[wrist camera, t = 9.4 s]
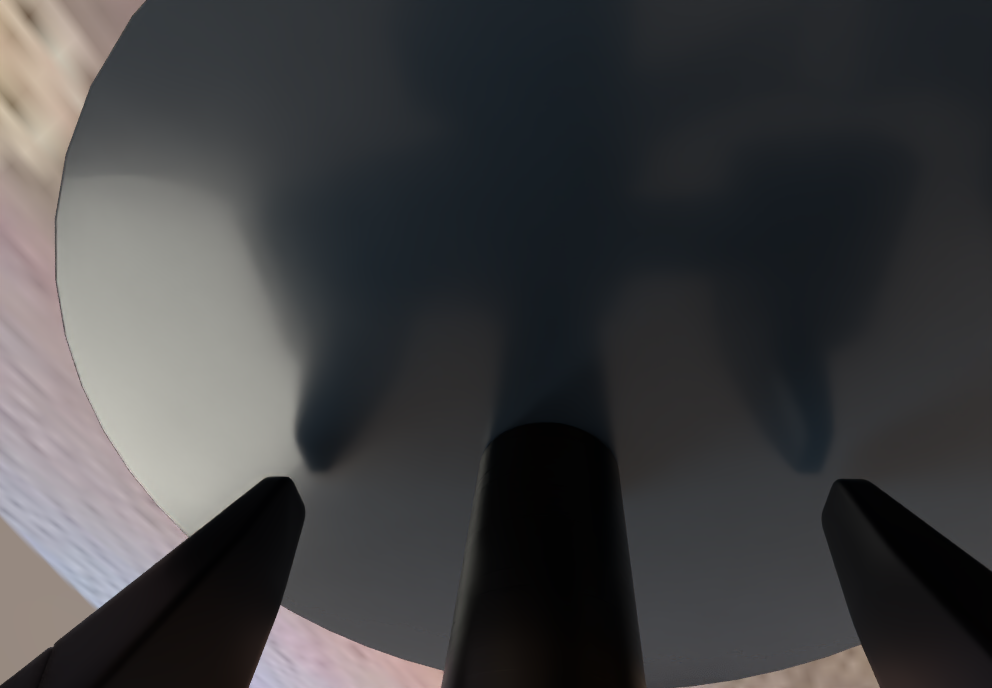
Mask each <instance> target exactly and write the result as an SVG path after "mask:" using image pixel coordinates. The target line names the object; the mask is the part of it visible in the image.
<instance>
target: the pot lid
mask: <svg viewBox="0 0 992 688" xmlns="http://www.w3.org/2000/svg"><path fill="white" fill-rule="evenodd" d="M55 280H56V286H57V292H58V297H59V303H60V309H61V315H62V321H63V327H64V332H65V337H66V340H67V343H68V346H69V349H70V352H71V355H72V358H73V361H74V364H75V367H76V370H77V373H78V376H79V379H80V382H81V385H82V388H83V390H84V392H85V394H86V396H87V398H88V400H89V402H90V404H91V406H92V408H93V410H94V412H95V414H96V416H97V419H98V421H99V423H100V425H101V427H102V429H103V431H104V432H105V434H106V435H107V437H108V439H109V440H110V442H111V443H112V445H113V446H114V448H115V449H116V451H117V453H118V454H119V456H120V457H121V459H122V460H123V462H124V463H125V465H126V467H127V468H128V470H129V471H130V472H131V474H132V475H133V476H134V477H135V478H136V480H137V481H138V482H139V483H140V485H141V486H142V487H143V488H144V490H145V491H146V492H147V493H148V495H149V496H150V497H151V498H152V499H153V501H154V502H155V503H156V504H157V506H158V507H159V508H160V509H161V510H162V511H163V512H164V513H165V514H166V515H167V516H168V517H169V518H170V519H171V520H172V521H173V522H174V523H175V524H176V525H177V526H178V527H179V528H180V529H181V530H182V531H183V532H184V533H185V534H186V535H187V536H188V537H190V536H191V535H193V534H194V533H195V532H196V531H198V530H199V529H200V528H202V527H203V526H204V525H205V524H207V523H208V522H209V521H210V520H212V519H213V518H214V517H216V516H217V515H218V514H219V513H221V512H222V511H223V510H224V509H226V508H227V507H228V506H229V505H231V504H232V503H233V502H235V501H236V500H237V499H238V498H240V497H241V496H242V495H243V494H245V493H246V492H247V491H248V490H250V489H251V488H252V487H254V486H255V485H256V484H257V483H259V482H260V481H261V480H263V479H264V478H266V477H270V476H287V477H289V478H291V479H292V480H293V482H294V484H295V486H296V488H297V490H298V492H299V494H300V497H301V499H302V501H303V503H304V505H305V510H306V515H305V521H304V524H303V528H302V532H301V535H300V539H299V542H298V546H297V550H296V553H295V557H294V560H293V564H292V567H291V571H290V575H289V578H288V582H287V585H286V589H285V592H284V595H283V599H282V602H281V605H282V606H283V607H285V608H287V609H288V610H290V611H292V612H294V613H296V614H298V615H300V616H301V617H303V618H305V619H307V620H309V621H311V622H313V623H315V624H317V625H319V626H321V627H323V628H325V629H327V630H329V631H331V632H334V633H336V634H338V635H341V636H343V637H346V638H348V639H350V640H353V641H355V642H357V643H360V644H362V645H364V646H367V647H370V648H373V649H375V650H378V651H381V652H384V653H387V654H390V655H393V656H395V657H398V658H401V659H404V660H407V661H411V662H414V663H418V664H422V665H425V666H429V667H432V668H436V669H439V670H443V671H444V675H443V681H442V686H441V688H676V687H688V686H697V685H704V684H710V683H717V682H724V681H730V680H737V679H742V678H746V677H751V676H756V675H760V674H765V673H769V672H774V671H779V670H783V669H787V668H790V667H793V666H797V665H800V664H804V663H807V662H811V661H814V660H818V659H821V658H824V657H828V656H831V655H833V654H836V653H839V652H842V651H844V650H847V649H850V648H852V647H855V646H858V645H860V644H861V642H860V640H859V637H858V635H857V632H856V630H855V628H854V625H853V622H852V619H851V616H850V613H849V610H848V607H847V604H846V601H845V597H844V594H843V591H842V588H841V585H840V581H839V578H838V575H837V572H836V569H835V566H834V562H833V559H832V556H831V553H830V550H829V547H828V543H827V540H826V537H825V534H824V531H823V527H822V520H821V517H822V511H823V508H824V506H825V503H826V500H827V497H828V495H829V492H830V489H831V487H832V485H833V483H834V482H835V481H836V480H837V479H865V480H868V481H870V482H871V483H873V484H874V485H876V486H877V487H879V488H880V489H881V490H883V491H884V492H885V493H887V494H888V495H889V496H891V497H892V498H893V499H895V500H896V501H897V502H899V503H900V504H902V505H903V506H904V507H906V508H907V509H908V510H910V511H911V512H912V513H914V514H915V515H916V516H918V517H919V518H920V519H922V520H923V521H925V522H926V523H927V524H929V525H930V526H931V527H933V528H934V529H935V530H937V531H938V532H939V533H941V534H942V535H943V536H945V537H946V538H948V539H949V540H950V541H952V542H953V543H954V544H956V545H957V546H958V547H960V548H961V549H962V550H964V551H965V552H966V553H968V554H969V555H971V556H972V557H973V558H975V559H976V560H977V561H979V562H980V563H981V564H983V565H984V566H985V567H987V568H988V569H989V570H991V571H992V0H146V1H145V2H144V3H143V4H142V5H141V7H140V8H139V9H138V10H137V11H136V12H135V13H134V14H133V16H132V17H131V19H130V21H129V22H128V24H127V26H126V27H125V29H124V31H123V32H122V34H121V36H120V38H119V39H118V41H117V43H116V44H115V46H114V48H113V49H112V51H111V53H110V54H109V56H108V58H107V59H106V61H105V63H104V64H103V66H102V68H101V69H100V71H99V73H98V74H97V76H96V78H95V79H94V81H93V83H92V84H91V86H90V89H89V92H88V95H87V97H86V100H85V103H84V106H83V108H82V111H81V114H80V117H79V119H78V122H77V125H76V128H75V130H74V133H73V136H72V139H71V141H70V144H69V147H68V150H67V152H66V156H65V162H64V168H63V174H62V180H61V186H60V192H59V198H58V204H57V210H56V216H55Z"/></svg>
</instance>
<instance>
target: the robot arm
mask: <svg viewBox="0 0 992 688" xmlns="http://www.w3.org/2000/svg"><path fill="white" fill-rule="evenodd" d="M305 515H306V510H305V505H304V503H303V501H302V499H301V497H300V494H299V492H298V490H297V488H296V486H295V484H294V482H293V480H292V479H291V478H289V477H287V476H270V477H266V478H264V479H263V480H261V481H260V482H259V483H257V484H256V485H255V486H254V487H252V488H251V489H250V490H248V491H247V492H246V493H245V494H243V495H242V496H241V497H240V498H238V499H237V500H236V501H235V502H233V503H232V504H231V505H229V506H228V507H227V508H226V509H224V510H223V511H222V512H221V513H219V514H218V515H217V516H216V517H214V518H213V519H212V520H210V521H209V522H208V523H207V524H205V525H204V526H203V527H202V528H200V529H199V530H198V531H196V532H195V533H194V534H193V535H191V536H190V537H189V538H188V539H186V540H185V541H184V542H183V543H181V544H180V545H179V546H177V547H176V548H175V549H174V550H172V551H171V552H170V553H169V554H167V555H166V556H165V557H164V558H162V559H161V560H160V561H158V562H157V563H156V564H155V565H153V566H152V567H151V568H150V569H148V570H147V571H146V572H144V573H143V574H142V575H141V576H139V577H138V578H137V579H136V580H134V581H133V582H132V583H131V584H129V585H128V586H127V587H125V588H124V589H123V590H122V591H120V592H119V593H118V594H117V595H115V596H114V597H113V598H112V599H110V600H109V601H108V602H106V603H105V604H104V605H103V606H101V607H100V608H99V609H98V610H96V611H95V612H94V613H93V614H91V615H90V616H89V617H87V618H86V619H85V620H84V621H82V622H81V623H80V624H78V625H77V626H76V627H75V628H73V629H72V630H71V631H70V632H68V633H67V634H66V635H65V636H63V637H62V638H61V639H59V640H58V641H57V642H56V643H55V644H54V647H50V648H48V649H47V650H45V651H44V652H43V653H42V654H40V655H39V656H38V657H36V658H35V659H34V660H33V661H31V662H30V663H29V664H28V665H26V666H25V667H24V668H22V669H21V670H20V671H19V672H17V673H16V674H15V675H14V676H12V677H11V678H10V679H8V680H7V681H6V682H4V683H3V684H2V685H0V688H249V685H250V683H251V680H252V678H253V675H254V673H255V670H256V667H257V665H258V662H259V660H260V657H261V654H262V652H263V649H264V647H265V644H266V642H267V639H268V636H269V634H270V631H271V629H272V626H273V624H274V621H275V618H276V616H277V613H278V610H279V607H280V605H281V602H282V599H283V595H284V592H285V589H286V585H287V582H288V578H289V575H290V571H291V567H292V564H293V560H294V557H295V553H296V550H297V546H298V542H299V539H300V535H301V532H302V528H303V524H304V521H305ZM821 520H822V527H823V531H824V534H825V537H826V540H827V543H828V547H829V550H830V553H831V556H832V559H833V562H834V566H835V569H836V572H837V575H838V578H839V581H840V585H841V588H842V591H843V594H844V597H845V601H846V604H847V607H848V610H849V613H850V616H851V619H852V622H853V625H854V628H855V630H856V632H857V635H858V637H859V640H860V642H861V645H862V647H863V649H864V652H865V654H866V656H867V658H868V661H869V663H870V665H871V668H872V670H873V672H874V675H875V677H876V679H877V681H878V684H879V686H880V688H992V571H991V570H989V569H988V568H987V567H985V566H984V565H983V564H981V563H980V562H979V561H977V560H976V559H975V558H973V557H972V556H971V555H969V554H968V553H966V552H965V551H964V550H962V549H961V548H960V547H958V546H957V545H956V544H954V543H953V542H952V541H950V540H949V539H948V538H946V537H945V536H943V535H942V534H941V533H939V532H938V531H937V530H935V529H934V528H933V527H931V526H930V525H929V524H927V523H926V522H925V521H923V520H922V519H920V518H919V517H918V516H916V515H915V514H914V513H912V512H911V511H910V510H908V509H907V508H906V507H904V506H903V505H902V504H900V503H899V502H897V501H896V500H895V499H893V498H892V497H891V496H889V495H888V494H887V493H885V492H884V491H883V490H881V489H880V488H879V487H877V486H876V485H874V484H873V483H871V482H870V481H868V480H865V479H837V480H836V481H835V482H834V483H833V485H832V487H831V489H830V492H829V495H828V497H827V500H826V503H825V506H824V508H823V511H822V517H821Z"/></svg>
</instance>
